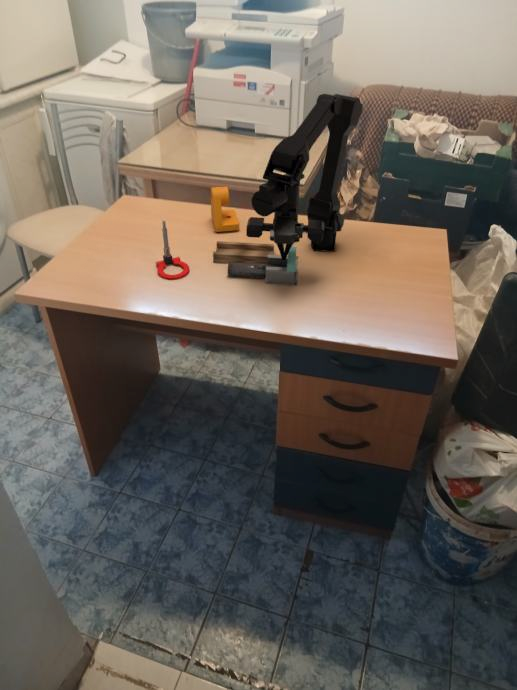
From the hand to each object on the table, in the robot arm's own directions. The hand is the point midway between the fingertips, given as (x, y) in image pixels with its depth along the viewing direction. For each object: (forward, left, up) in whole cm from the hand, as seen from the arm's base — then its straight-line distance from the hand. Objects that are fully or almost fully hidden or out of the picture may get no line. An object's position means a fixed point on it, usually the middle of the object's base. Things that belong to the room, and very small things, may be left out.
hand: (283, 259), depth 130 cm
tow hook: (+29, 0, -6) cm, 30 cm away
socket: (0, 0, -5) cm, 5 cm away
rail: (+11, -9, -5) cm, 15 cm away
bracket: (+19, -28, -6) cm, 34 cm away
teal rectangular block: (-2, 0, -1) cm, 2 cm away
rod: (+7, 0, -6) cm, 9 cm away
